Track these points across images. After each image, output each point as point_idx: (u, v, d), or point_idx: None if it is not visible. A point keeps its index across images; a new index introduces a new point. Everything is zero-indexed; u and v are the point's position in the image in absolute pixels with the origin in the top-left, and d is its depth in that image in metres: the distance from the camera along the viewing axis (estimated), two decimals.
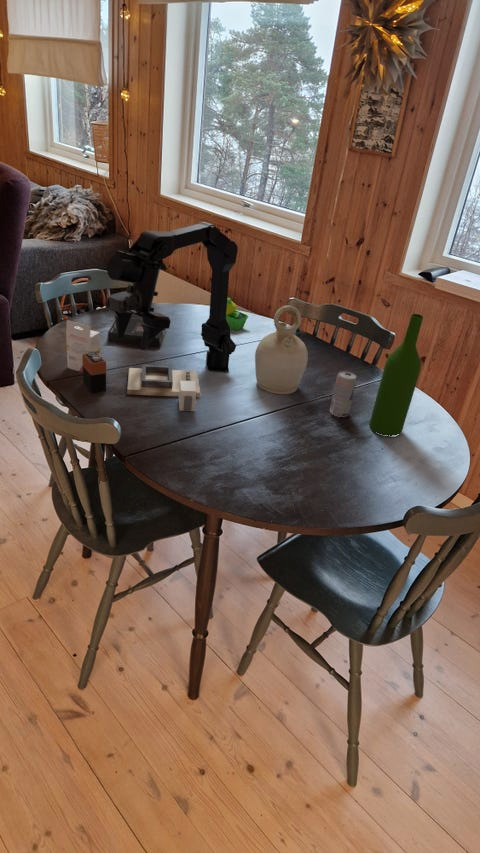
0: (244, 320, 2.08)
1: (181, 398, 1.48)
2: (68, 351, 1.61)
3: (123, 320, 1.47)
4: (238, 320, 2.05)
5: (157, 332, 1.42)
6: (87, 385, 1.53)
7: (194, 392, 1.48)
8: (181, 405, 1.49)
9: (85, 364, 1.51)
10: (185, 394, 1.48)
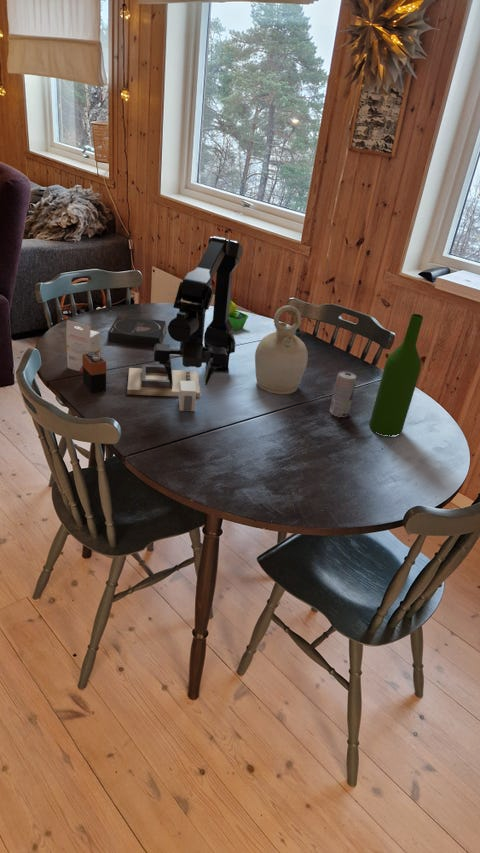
0: (244, 320, 2.08)
1: (181, 398, 1.48)
2: (68, 351, 1.61)
3: None
4: (238, 320, 2.05)
5: None
6: (87, 385, 1.53)
7: (194, 392, 1.48)
8: (181, 405, 1.49)
9: (85, 364, 1.51)
10: (185, 394, 1.48)
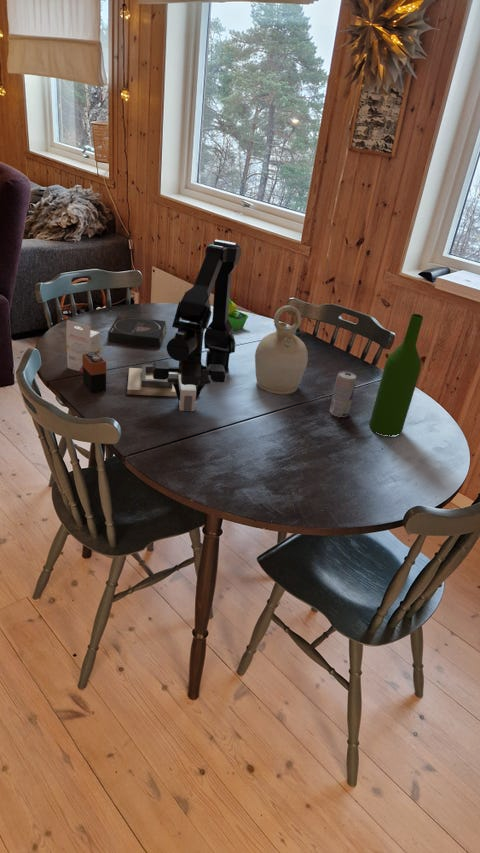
0: (244, 320, 2.08)
1: (181, 398, 1.48)
2: (68, 351, 1.61)
3: None
4: (238, 320, 2.05)
5: None
6: (87, 385, 1.53)
7: (194, 392, 1.48)
8: (181, 405, 1.49)
9: (85, 364, 1.51)
10: (185, 394, 1.48)
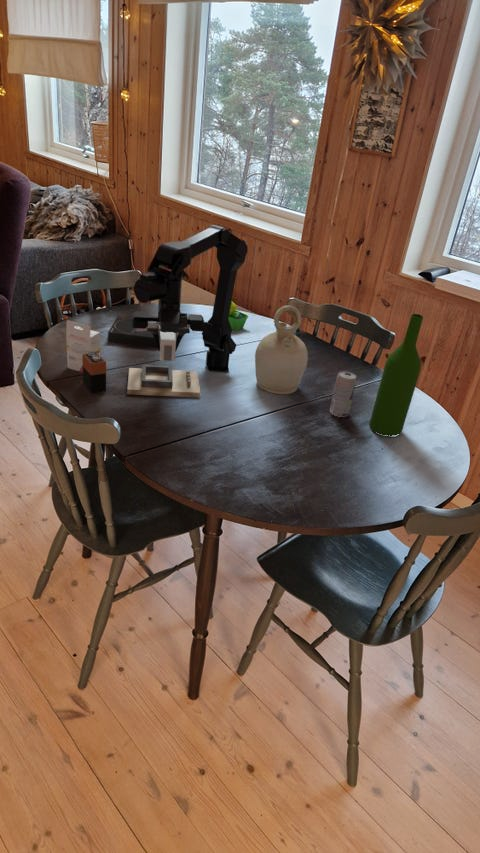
0: (244, 320, 2.08)
1: (161, 348, 1.49)
2: (68, 351, 1.61)
3: None
4: (238, 320, 2.05)
5: None
6: (87, 385, 1.53)
7: (174, 341, 1.49)
8: (161, 355, 1.50)
9: (85, 364, 1.51)
10: (165, 343, 1.49)
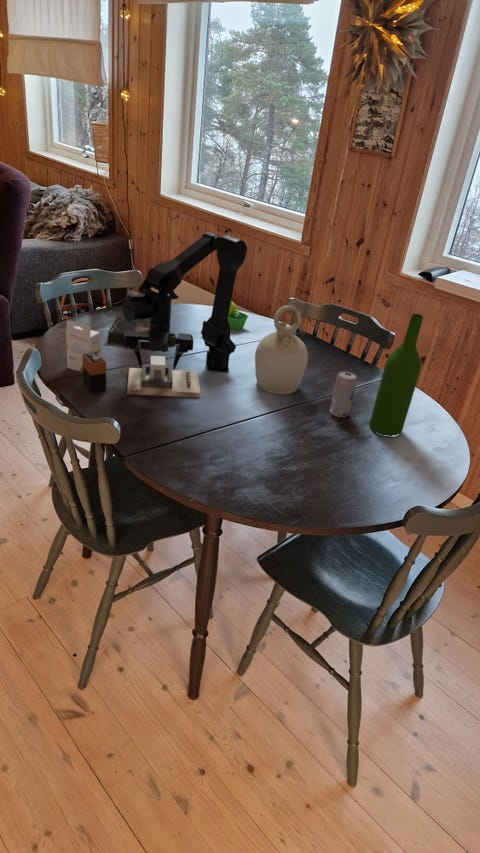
0: (244, 320, 2.08)
1: (151, 372, 1.56)
2: (68, 351, 1.61)
3: (140, 351, 1.56)
4: (238, 320, 2.05)
5: None
6: (87, 385, 1.53)
7: (163, 366, 1.56)
8: (151, 378, 1.57)
9: (85, 364, 1.51)
10: (155, 368, 1.56)
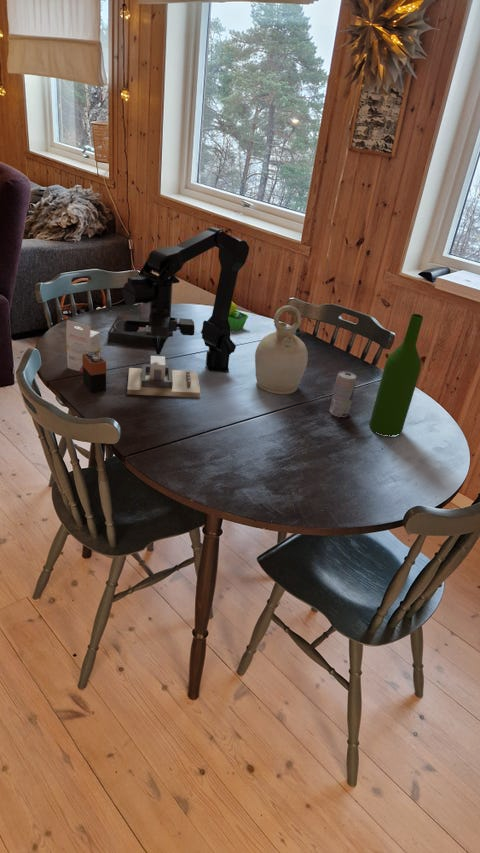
0: (244, 320, 2.08)
1: (151, 372, 1.56)
2: (68, 351, 1.61)
3: None
4: (238, 320, 2.05)
5: None
6: (87, 385, 1.53)
7: (163, 366, 1.56)
8: (151, 378, 1.57)
9: (85, 364, 1.51)
10: (155, 368, 1.56)
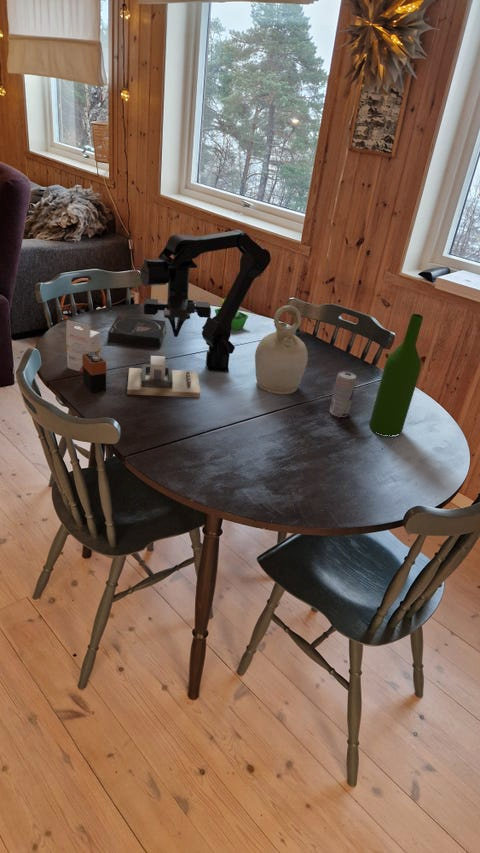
0: (244, 320, 2.08)
1: (151, 372, 1.56)
2: (68, 351, 1.61)
3: None
4: (238, 320, 2.05)
5: None
6: (87, 385, 1.53)
7: (163, 366, 1.56)
8: (151, 378, 1.57)
9: (85, 364, 1.51)
10: (155, 368, 1.56)
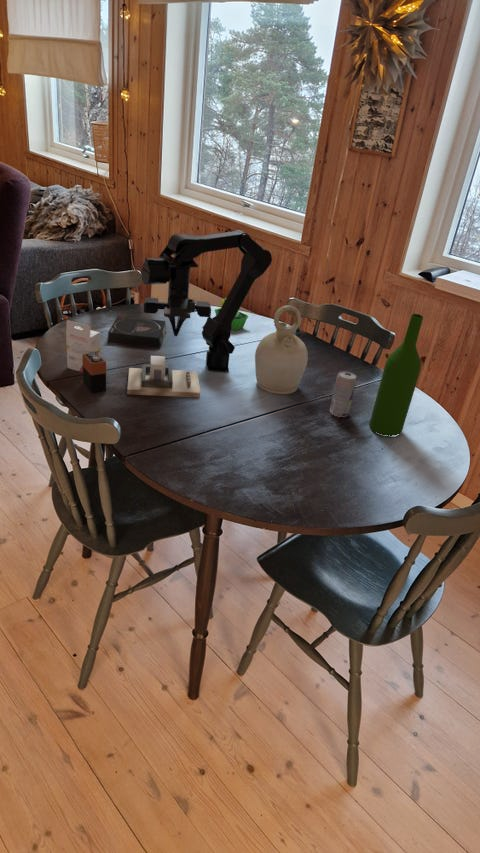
0: (244, 320, 2.08)
1: (151, 372, 1.56)
2: (68, 351, 1.61)
3: None
4: (238, 320, 2.05)
5: None
6: (87, 385, 1.53)
7: (163, 366, 1.56)
8: (151, 378, 1.57)
9: (85, 364, 1.51)
10: (155, 368, 1.56)
